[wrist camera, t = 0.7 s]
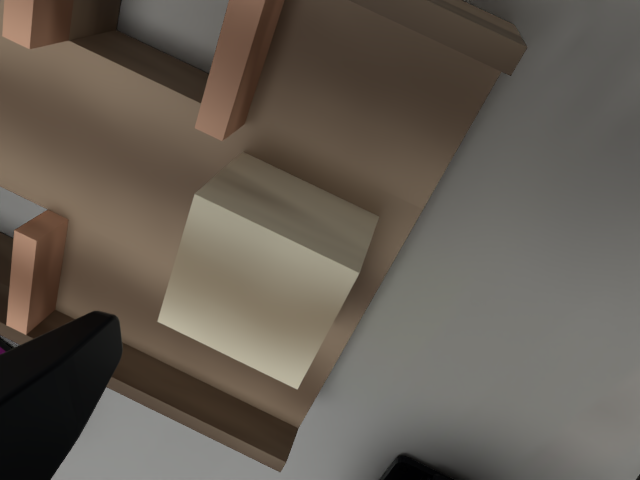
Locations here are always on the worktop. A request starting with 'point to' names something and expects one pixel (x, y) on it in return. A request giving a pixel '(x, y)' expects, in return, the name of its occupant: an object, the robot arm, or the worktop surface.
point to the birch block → (265, 267)
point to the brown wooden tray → (214, 155)
